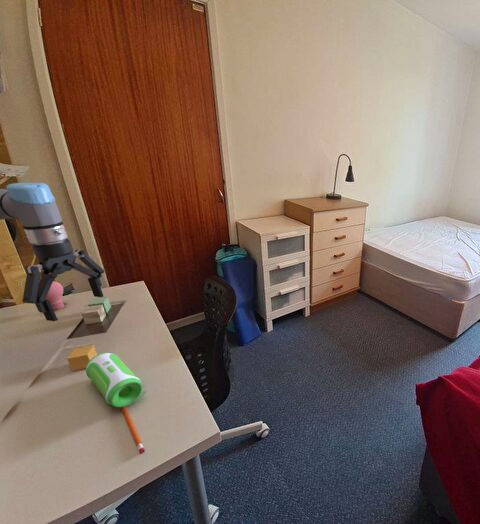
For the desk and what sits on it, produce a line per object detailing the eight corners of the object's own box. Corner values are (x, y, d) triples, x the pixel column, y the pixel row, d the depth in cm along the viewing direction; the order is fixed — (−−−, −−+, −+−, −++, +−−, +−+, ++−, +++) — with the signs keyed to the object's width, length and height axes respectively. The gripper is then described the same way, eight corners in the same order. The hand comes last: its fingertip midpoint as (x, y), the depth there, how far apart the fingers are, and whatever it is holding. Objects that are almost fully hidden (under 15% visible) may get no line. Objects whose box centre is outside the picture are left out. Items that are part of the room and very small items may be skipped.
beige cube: (90, 317, 101) (86, 306, 99) (106, 315, 103) (102, 304, 101) (85, 324, 97) (81, 313, 95) (101, 321, 99) (97, 311, 97)
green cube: (91, 315, 102) (87, 304, 101) (96, 309, 106) (92, 298, 104) (107, 313, 104) (103, 302, 102) (111, 306, 108) (107, 296, 106)
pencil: (140, 454, 59) (139, 451, 59) (118, 402, 70) (117, 400, 70) (145, 451, 60) (144, 448, 59) (122, 400, 71) (121, 397, 71)
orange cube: (72, 371, 79) (66, 358, 77) (79, 360, 83) (74, 348, 81) (92, 367, 81) (87, 354, 79) (98, 356, 85) (93, 344, 83)
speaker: (88, 382, 76) (79, 360, 73) (120, 366, 81) (113, 345, 78) (113, 416, 67) (104, 393, 64) (147, 395, 72) (140, 373, 69)
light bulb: (43, 310, 106) (30, 282, 101) (69, 303, 111) (58, 276, 106) (45, 317, 102) (32, 288, 97) (72, 309, 107) (60, 281, 102)
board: (61, 342, 90) (59, 340, 89) (87, 310, 107) (86, 308, 106) (107, 334, 94) (106, 332, 94) (125, 305, 111) (124, 303, 111)
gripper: (3, 259, 65) (40, 333, 73) (105, 229, 88) (124, 289, 96) (-23, 256, 66) (16, 330, 74) (84, 228, 89) (105, 287, 97)
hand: (77, 307), depth 85 cm, fingers open, 13 cm apart
